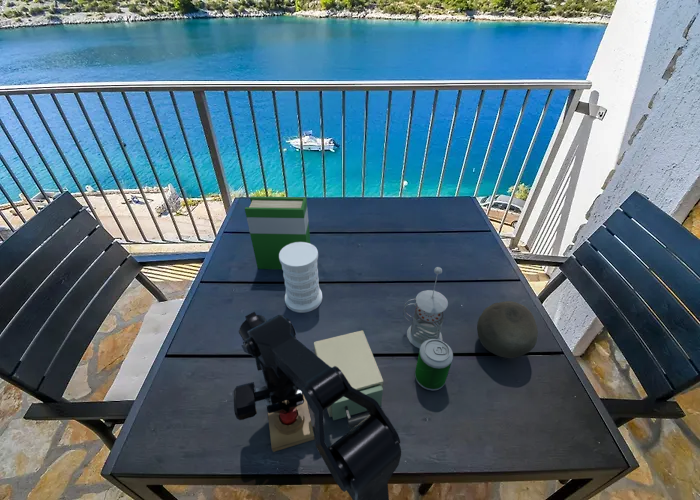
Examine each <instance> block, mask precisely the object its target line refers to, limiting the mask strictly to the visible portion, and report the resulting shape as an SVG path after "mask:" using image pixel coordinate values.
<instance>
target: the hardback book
mask: <svg viewBox="0 0 700 500" xmlns="http://www.w3.org/2000/svg"><path fill="white" fill-rule="evenodd" d="M249 200H250V205H249V206H246V207H244V213H245V218H246V221H247V227H248V230H249V236H250V240H251V244H252V249H253V254H254V257H255V258H254V259H255V263H256V267H257V270H283V269H282V264H281V263H280V260H279V253H280V251H281V250H282V248H284V247H285V246H286V245H289V244H291V243H295V242H306V243H310V244H312V243H311V235H310V234H311V232H310V224H309V223H310V221H309V212H308V211H309V209H308V200H307V196H305V197H304V196H301V197H300V196H250V198H249Z"/></svg>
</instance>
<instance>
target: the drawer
mask: <svg viewBox="0 0 700 500" xmlns="http://www.w3.org/2000/svg"><path fill="white" fill-rule="evenodd" d="M358 391H360V392H362V393H364V394H366V395H367V396H369V397H371V398H373V399H375V400H376V401H377V402H378V404H379V405H380V407H381V408H382V402H383V391H384V387H383V388H382V386H381V385H379V386H376V385H375V386H371V387H368V388H364V389H361V390H358ZM331 408H332V417H331V418H332V421H338V420H341V419H343V418H347V420H346V421H347V425H348V428H354V427H355V426H357V425H358V424H359V423H360V422H362V421H363V420H364V419H366V418H367V417H368V416H369V415H370V414H369V412H368V411H367V409H366V408H364V407H362V406H360V405H359V404H357V403H355V402H353V401H351V400H349V399H348V398H346V397H344V396H343V397H342V398H341V399H339V400H338V401H336V402H335V403H334V404H332V405H331ZM364 412H367V413H364ZM361 413H364V414H361ZM357 414H361V415H357ZM353 415H357V416H354V417H351V416H353Z"/></svg>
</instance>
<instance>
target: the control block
mask: <svg viewBox="0 0 700 500" xmlns="http://www.w3.org/2000/svg"><path fill="white" fill-rule="evenodd" d="M303 398H304V403H303V404H302V405H299V406H298V407H296V411H297V419H296V420H295V422H294V423H292V424H289V425H286V424H284V423H283V422H282V421H281V418H280V413H268V412H267V418H268V420H267V421H268V428H269V437H270V438H269V439H270V445H271V451H272V453H275V452H278V451H281V450H285V449H288V448H291V447H295V446H298V445H301V444H305V443H307V442H308V443H309V442H310V441H311V442H312V441H315V432H314V428H313V423H312V419H311V414H310V408H309V405H308V403H307V401H306V399H305V397H304V395H303ZM285 402H286V405H287V400H285Z"/></svg>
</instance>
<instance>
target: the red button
mask: <svg viewBox="0 0 700 500" xmlns="http://www.w3.org/2000/svg"><path fill="white" fill-rule="evenodd" d="M280 418H281V421H282V422H283V423H284V424H286V425H289V424H292V423H294V422H295V420H296V419H297V411H296V408H295V409H294V410H293V411H292V412H290V413H288V414H284V413H280Z"/></svg>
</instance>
